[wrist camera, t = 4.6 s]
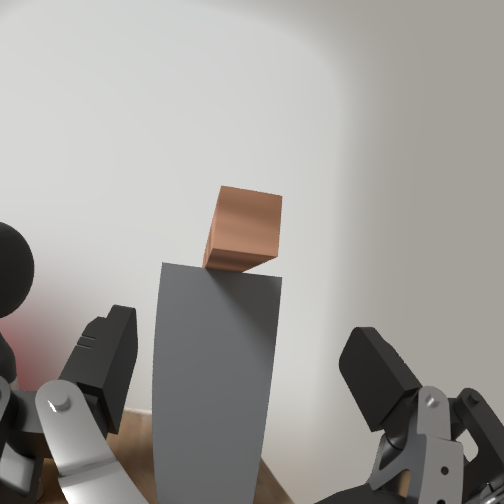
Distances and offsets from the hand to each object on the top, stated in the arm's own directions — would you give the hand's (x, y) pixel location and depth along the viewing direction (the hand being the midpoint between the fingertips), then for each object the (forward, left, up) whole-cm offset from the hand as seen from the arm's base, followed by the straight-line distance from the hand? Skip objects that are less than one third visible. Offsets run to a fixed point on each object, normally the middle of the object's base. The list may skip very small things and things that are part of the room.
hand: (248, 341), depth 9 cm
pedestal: (+12, +12, -28) cm, 33 cm away
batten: (+11, +11, +4) cm, 16 cm away
